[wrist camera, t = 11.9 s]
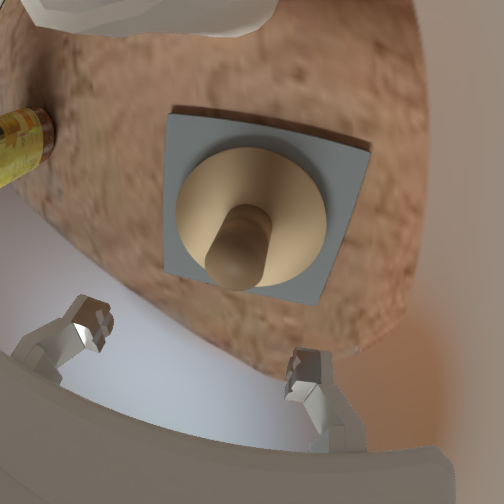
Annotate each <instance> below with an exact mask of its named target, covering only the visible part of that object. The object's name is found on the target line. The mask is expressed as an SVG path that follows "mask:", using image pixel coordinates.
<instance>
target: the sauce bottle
mask: <svg viewBox="0 0 504 504" xmlns="http://www.w3.org/2000/svg"><path fill="white" fill-rule="evenodd" d="M53 147H54V126H53V123H52V120H51V118H50V116H49V115H48V114H47V112H46V111H45V110H44V109H42V108H40V107H37V106H36V107H31V108H22V109H19V110H16V111H13V112H10V113H7V114H4V115H1V116H0V188H1V187H3V186H4V185H6V184H8V183H10V182H11V181H13V180H15V179H17V178H18V177H20V176H22V175H24V174H25V173H27V172H29V171H31V170H33V169H35V168H36V167H37V166H38V165H39V164H41V163H43V162H44V161H45V160H47V158H49V156H50V155H51V152H52V150H53Z"/></svg>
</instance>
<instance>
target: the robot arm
mask: <svg viewBox="0 0 504 504" xmlns="http://www.w3.org/2000/svg"><path fill="white" fill-rule="evenodd" d="M2 2H3V0H0V6H1V4H2ZM110 309H111V308H110V305H109V304H108V303H105V302H102V301H99V300H96V299H94V298H91V297H88V296H85V295H82V294H80V295H79V296H77V298H76V299H75V301H74V302H73V303H72V305H71V306H70V308H69V309H68V310H67V312H66V313H65V315H64V316H63V318H58V319H56V320H54V321H52V322H50V323H48V324H46V325H44V326H42V327H41V328H38V329H36V330H35V331H33V332H31V333H29V334H27V335H25V336H23V337H22V339H21V340H20V342H19V343H18V345H17V346H16V348H15V349H14V351H13V353H12V354H11V356H9V355H8V354H6V353H5V352H3V351H2V350H0V504H455V502H456V484H455V471H454V466H453V464H452V463H451V461H450V460H449V459H448V458H447V456H446V455H445V454H444V453H443V452H442V451H441V450H440V449H439V448H438V447H437V446H434V445H430V446H423V447H416V448H409V449H401V450H392V451H381V452H367V449H366V448H367V447H366V430H365V424H364V423H363V421H362V420H361V419H360V417H359V416H358V414H357V413H356V412H355V410H354V409H353V407H352V406H351V405H350V403H349V402H348V400H347V399H346V398H345V396H344V395H343V393H342V392H341V391H340V389H339V388H338V386H335V385H334V381H333V363H332V354H331V352H328V351H319V350H315V349H307V348H299V347H296V348H295V349H294V351H293V357H290V359H289V362H288V365H287V370H286V379H287V380H288V382H287V384H286V386H285V396H284V400H288V401H296V402H302V403H303V404H304V406H305V408H306V410H307V412H308V414H309V416H310V418H311V420H312V422H313V423H314V425H315V427H316V429H317V431H318V433H319V435H320V436H319V437H317V438H316V439H315V440H313V441H312V442H311V443H310V444H309V449H308V452H292V451H281V450H270V449H263V448H255V447H247V446H242V445H235V444H230V443H225V442H219V441H214V440H210V439H205V438H201V437H197V436H192V435H188V434H184V433H181V432H177V431H173V430H170V429H166V428H163V427H160V426H156V425H153V424H150V423H147V422H144V421H141V420H138V419H135V418H133V417H130V416H127V415H124V414H122V413H119V412H117V411H114V410H112V409H109V408H107V407H104V406H102V405H100V404H97V403H95V402H92V401H90V400H88V399H86V398H84V397H82V396H80V395H77V394H75V393H73V392H71V391H69V390H67V389H65V388H63V387H61V386H59V385H60V383H61V381H62V376H61V374H60V373H59V371H58V370H57V368H59V367H60V366H61V365H63V364H64V363H66V362H67V361H68V360H70V359H71V358H73V357H74V356H75V355H77V354H78V353H79V352H81V351H82V350H84V349H85V348H87V349H89V350H92V351H95V352H98V353H100V352H101V350H102V348H103V346H104V344H105V337H107V336H109V335H110V333H111V331H112V329H113V325H114V319H113V316H112V314H110V312H109V311H110Z"/></svg>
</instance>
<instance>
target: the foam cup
mask: <svg viewBox="0 0 504 504" xmlns="http://www.w3.org/2000/svg"><path fill="white" fill-rule="evenodd" d="M21 2H22V4H23V5H24V7H25V9H26V10H27V12H28V14H29V15H30V17H31V19H32V20H33V22H34V24H35V25H36V26H40V27H45V28H51V29H55V30H60V31H65V32H69V33H73V34H86V35H98V36H108V37H116V38H121V37H126V36H131V35H136V34H142V33H148V32H159V33H180V34H192V35H202V36H211V37H239V36H241V35H244V34H247V33H249V32H252V31H255V30H258V29H259V28H260V27H261V26H262V25H263V24H264V23H266V22H267V21H268V20H269V19H270V18H271V17H272V16H273V14H274V12H275V9H276V7H277V4H278V2H279V0H21Z"/></svg>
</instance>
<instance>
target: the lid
mask: <svg viewBox="0 0 504 504" xmlns="http://www.w3.org/2000/svg"><path fill="white" fill-rule="evenodd" d="M175 218H176V225H177V230H178V233H179V236H180V238H181V240H182V243H183V245H184V246H185V248H186V249H187V251H188V252H189V254H190V255H191V256H192V258H193V259H194V260H195V261H196V262H197V263H198V264H199V265H200V266H202V267H203V268H204V269H205V270H206V272H207V274H208V275H209V277H210V278H211V279H212V280H213V281H214V282H215V283H216V284H218V285H219V286H221V287H223V288H225V289H228V290H233V291H244V290H248V289H251V288H253V287H261V286H270V285H275V284H279V283H282V282H285V281H288V280H290V279H292V278H294V277H296V276H297V275H299V274H300V273H302V272H303V271H304V270H305V269H306V268H307V267H309V266H310V265H311V263H312V262H313V261H314V260H315V259H316V257H317V255H318V254H319V252H320V250H321V248H322V245H323V243H324V239H325V235H326V227H327V222H326V212H325V207H324V202H323V199H322V196H321V193H320V191H319V189H318V187H317V185H316V183H315V182H314V181H313V179H312V178H311V176H310V175H309V174H308V173H307V172H306V171H305V170H304V169H303V168H302V167H301V166H300V165H298V164H297V163H296V162H295V161H293V160H292V159H290V158H288V157H286V156H285V155H283V154H280V153H278V152H275V151H272V150H269V149H265V148H259V147H237V148H231V149H227V150H224V151H221V152H219V153H216V154H214V155H212V156H211V157H209V158H207V159H206V160H204V161H203V162H202V163H201V164H200V165H199V166H197V167H196V168H195V169H194V170H193V171H192V172H191V173H190V174H189V176H188V177H187V178H186V180H185V181H184V183H183V185H182V186H181V189H180V191H179V194H178V197H177V201H176V208H175Z"/></svg>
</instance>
